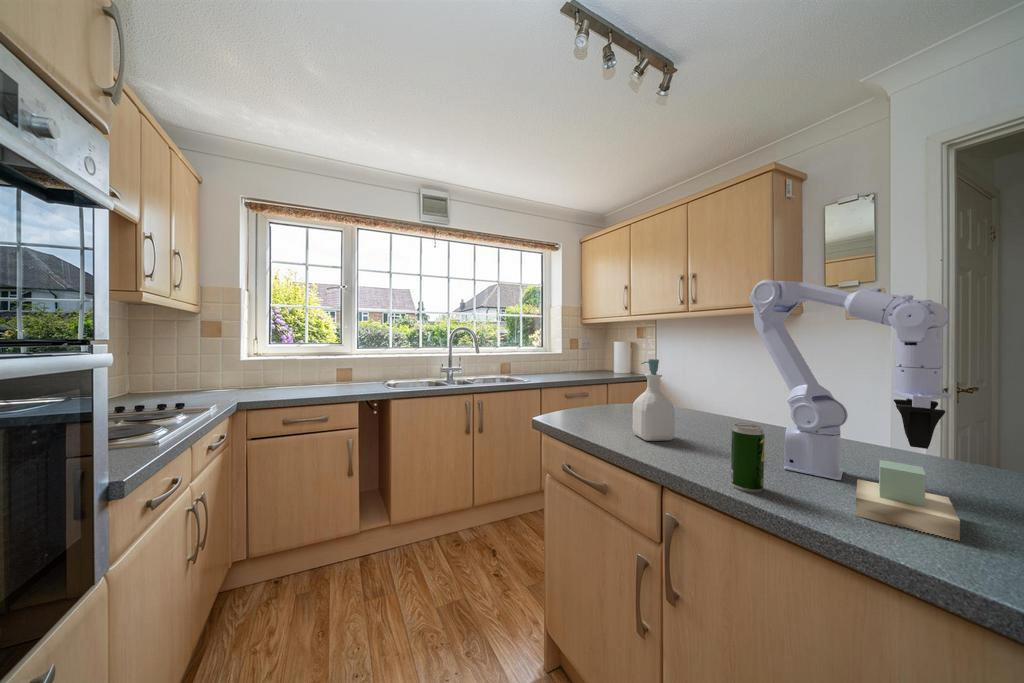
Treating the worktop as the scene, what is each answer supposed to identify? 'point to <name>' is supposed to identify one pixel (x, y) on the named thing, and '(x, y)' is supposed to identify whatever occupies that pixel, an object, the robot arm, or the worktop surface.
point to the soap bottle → (653, 410)
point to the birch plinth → (908, 511)
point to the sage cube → (902, 482)
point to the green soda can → (747, 457)
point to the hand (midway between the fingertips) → (916, 442)
